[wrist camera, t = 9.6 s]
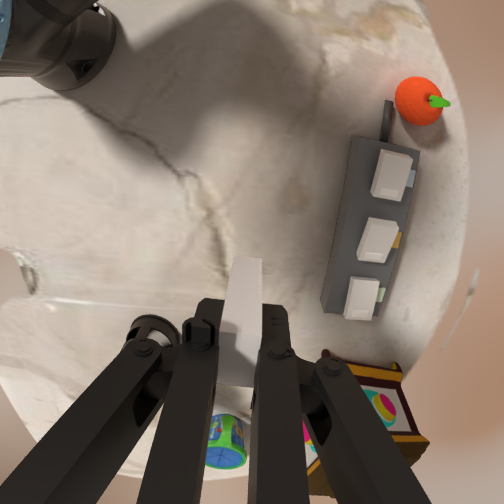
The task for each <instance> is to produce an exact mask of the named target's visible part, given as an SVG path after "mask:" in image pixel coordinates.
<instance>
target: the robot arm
mask: <svg viewBox="0 0 504 504" xmlns="http://www.w3.org/2000/svg"><path fill="white" fill-rule="evenodd" d="M97 1H99V0H0V77H4V76H16V77H31V78H33V79H34V80H35V81H37V82H38V83H40V84H41V85H43V86H44V87H46V88H49V89H53V90H71V89H75V88H78V87H80V86H82V85H84V84H86V83H87V82H89V81H90V80H91V79H92V78H94V77H95V76H96V75H97V74H98V73H99V72H100V70H101V69H102V68H103V66H104V65H105V64H106V62H107V60H108V58H109V57H110V54H111V52H112V49H113V46H114V42H115V36H116V27H115V22H114V19H113V17H112V15H111V13H110V12H109V10H108V9H107V8H105V7H104V6H102V5H101V4H99V3H97ZM182 340H183V343H182V344H180V345H178V346H175V347H167V348H161V346H160V345H159V343H158V342H156V341H154V340H153V339H148V338H139V339H136V340H133V341H132V342H130V343H129V344H128V345H127V346H126V347H125V348H124V349H123V350H122V351H121V352H120V353H119V354H118V355H117V356H116V358H115V359H114V360H113V361H112V362H111V363H110V364H109V365H108V366H107V367H106V368H105V369H104V370H103V371H102V373H101V374H100V375H99V376H98V377H97V378H96V379H95V380H94V381H93V382H92V383H91V384H90V386H89V387H88V388H87V389H86V390H85V391H84V392H83V393H82V394H81V395H80V396H79V398H78V399H77V400H76V401H75V402H74V403H73V404H72V405H71V406H70V407H69V409H68V410H67V411H66V412H65V413H64V414H63V415H62V416H61V417H60V419H59V420H58V421H57V422H56V423H55V424H54V425H53V426H52V427H51V429H50V430H49V431H48V432H47V433H46V434H45V435H44V436H43V438H42V439H41V440H40V441H39V442H38V443H37V444H36V446H35V447H34V448H33V449H32V450H31V451H30V452H29V454H28V455H27V456H26V457H25V458H24V459H23V461H22V462H21V463H20V464H19V465H18V466H17V467H16V468H15V470H14V471H13V472H12V473H11V474H10V475H9V477H8V478H7V479H6V480H5V481H4V482H3V484H2V485H1V486H0V504H96V503H97V501H98V500H99V499H100V497H101V496H102V494H103V493H104V491H105V489H106V488H107V486H108V485H109V484H110V482H111V481H112V479H113V478H114V476H115V475H116V473H117V472H118V470H119V469H120V467H121V466H122V465H123V463H124V462H125V460H126V459H127V457H128V456H129V454H130V453H131V451H132V450H133V448H134V447H135V445H136V444H137V442H138V441H139V439H140V438H141V436H142V435H143V433H144V432H145V430H146V429H147V427H148V426H149V424H150V423H151V421H152V420H153V418H154V417H155V415H156V414H157V412H158V411H159V409H160V408H161V406H162V405H163V403H164V405H163V408H162V412H161V415H160V419H159V422H158V426H157V429H156V433H155V436H154V440H153V443H152V447H151V450H150V454H149V458H148V461H147V465H146V469H145V472H144V476H143V480H142V484H141V488H140V491H139V495H138V499H137V503H136V504H200V497H201V490H202V483H203V476H204V468H205V461H206V454H207V447H208V441H209V434H210V427H211V420H212V413H213V407H214V400H215V393H216V384H223V385H232V386H241V387H252V388H253V387H254V390H253V396H252V402H251V408H250V409H252V416H251V438H250V460H249V481H248V502H247V503H248V504H310V500H309V487H308V474H307V463H306V451H305V440H304V430H303V422H304V424H305V427H306V429H307V431H308V434H309V436H310V439H311V441H312V443H313V446H314V448H315V451H316V453H317V455H318V458H319V460H320V462H321V465H322V467H323V470H324V472H325V474H326V477H327V479H328V481H329V484H330V486H331V488H332V491H333V493H334V495H335V498H336V500H337V502H338V504H432V503H431V502H430V500H429V498H428V496H427V495H426V493H425V491H424V490H423V488H422V486H421V485H420V483H419V481H418V480H417V478H416V476H415V474H414V473H413V471H412V469H411V468H410V466H409V464H408V463H407V461H406V459H405V458H404V456H403V454H402V453H401V451H400V449H399V448H398V446H397V444H396V443H395V441H394V439H393V438H392V436H391V434H390V433H389V431H388V430H387V428H386V426H385V425H384V423H383V421H382V420H381V418H380V416H379V415H378V413H377V412H376V410H375V408H374V407H373V405H372V403H371V402H370V400H369V399H368V397H367V395H366V394H365V392H364V390H363V389H362V387H361V386H360V384H359V382H358V381H357V379H356V378H355V376H354V374H353V373H352V371H351V370H350V368H349V366H348V365H347V364H346V363H345V362H344V361H342V360H340V359H338V358H334V357H324V358H320V359H319V360H318V361H317V362H316V363H312V362H309V361H306V360H303V359H301V358H299V357H298V356H297V355H296V354H295V352H294V350H293V349H292V348H291V341H290V332H289V323H288V314H287V311H286V310H285V308H284V307H283V306H282V305H273V304H263V303H262V258H256V257H247V256H237V255H234V257H233V262H232V267H231V272H230V277H229V282H228V287H227V293H226V298H225V300H219V299H211V298H204V299H203V300H202V301H201V302H199V303H198V306H197V309H196V313H195V316H194V317H192V318H189V319H187V320H186V321H185V322H184V323H183V324H182ZM164 401H165V402H164Z"/></svg>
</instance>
